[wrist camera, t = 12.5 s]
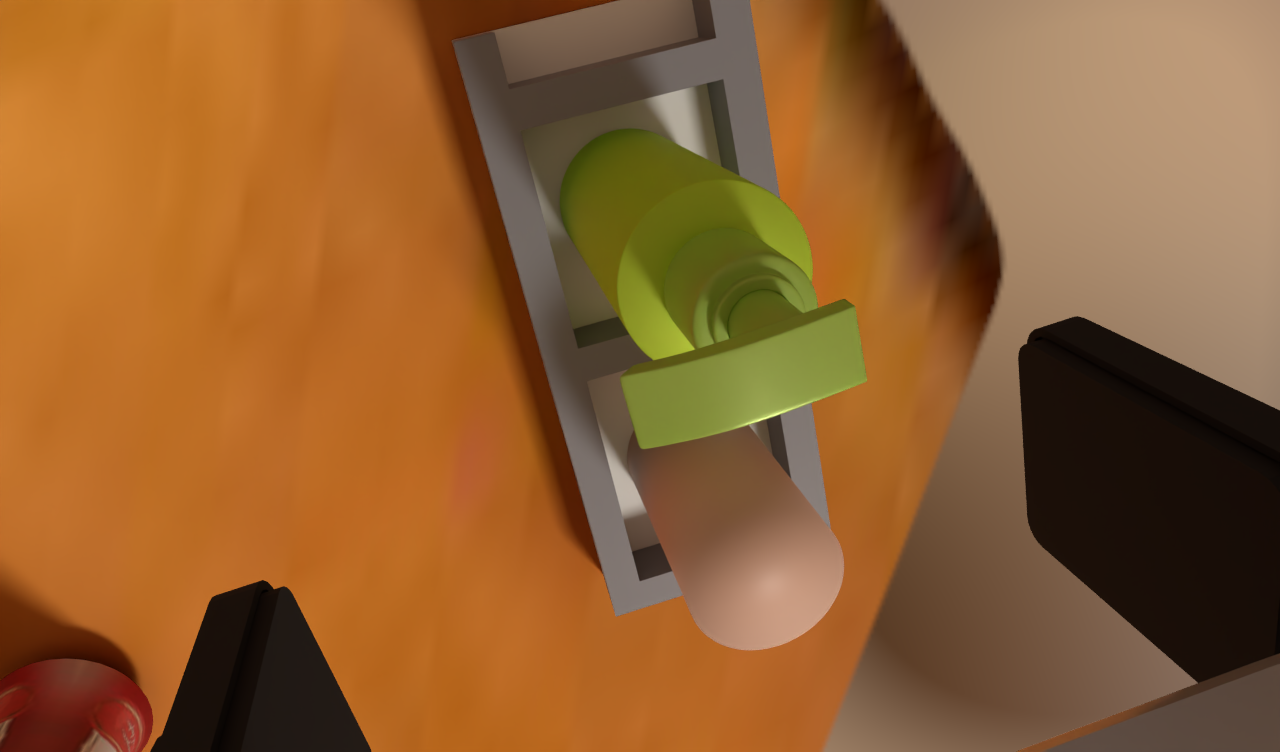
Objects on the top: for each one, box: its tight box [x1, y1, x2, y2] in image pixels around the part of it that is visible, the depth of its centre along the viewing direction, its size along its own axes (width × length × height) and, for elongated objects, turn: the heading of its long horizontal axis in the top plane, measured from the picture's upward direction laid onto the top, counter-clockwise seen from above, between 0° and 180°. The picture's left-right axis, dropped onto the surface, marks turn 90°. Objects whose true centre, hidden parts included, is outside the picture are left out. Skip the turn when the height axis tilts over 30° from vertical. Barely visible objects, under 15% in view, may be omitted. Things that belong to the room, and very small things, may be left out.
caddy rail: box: [452, 0, 844, 650], centre depth 35 cm, size 26×11×12 cm, turn 12°
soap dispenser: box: [560, 128, 867, 449], centre depth 29 cm, size 6×7×20 cm
